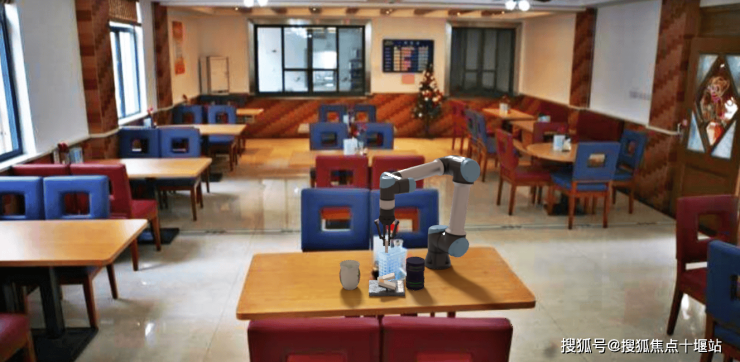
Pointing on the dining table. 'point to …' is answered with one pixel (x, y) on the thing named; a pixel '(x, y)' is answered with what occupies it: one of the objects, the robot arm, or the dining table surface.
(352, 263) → the pitcher
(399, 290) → the breaker panel
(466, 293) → the dining table surface
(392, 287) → the paddle near
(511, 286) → the dining table surface
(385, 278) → the paddle far
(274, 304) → the dining table surface
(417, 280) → the storage jar
